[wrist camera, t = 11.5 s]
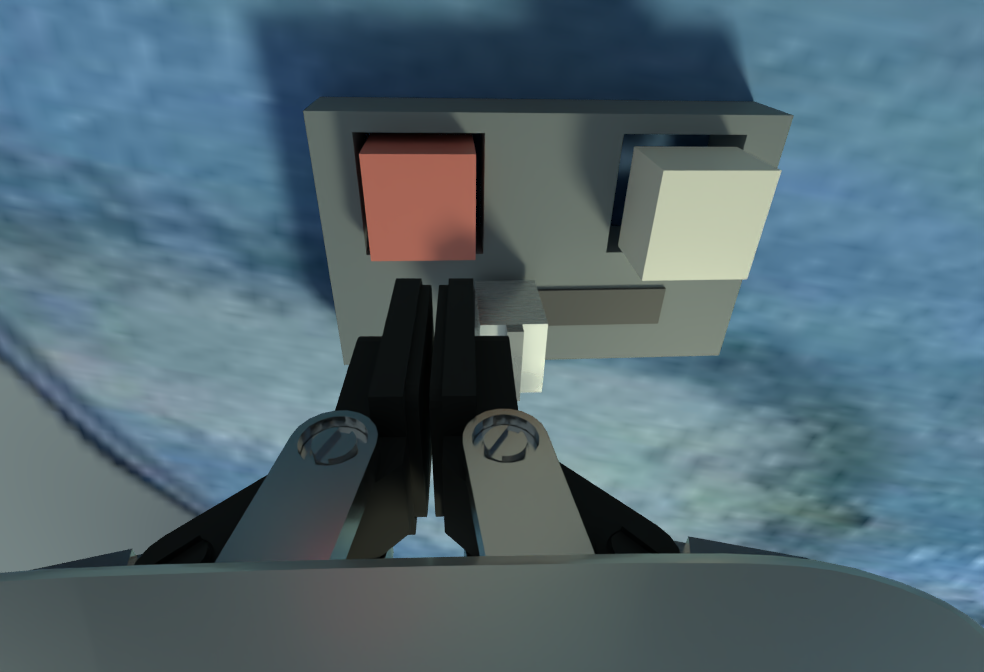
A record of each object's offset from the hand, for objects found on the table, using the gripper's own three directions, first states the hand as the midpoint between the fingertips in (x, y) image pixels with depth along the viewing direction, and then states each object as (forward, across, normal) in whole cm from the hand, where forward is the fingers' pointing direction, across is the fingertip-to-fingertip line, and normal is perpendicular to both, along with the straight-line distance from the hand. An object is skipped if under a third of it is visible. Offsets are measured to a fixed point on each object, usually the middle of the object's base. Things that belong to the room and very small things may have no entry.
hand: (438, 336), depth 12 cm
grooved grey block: (+10, -2, +5) cm, 11 cm away
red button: (+12, +1, 0) cm, 12 cm away
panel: (+13, -4, +3) cm, 14 cm away
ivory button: (+10, -9, 0) cm, 14 cm away
